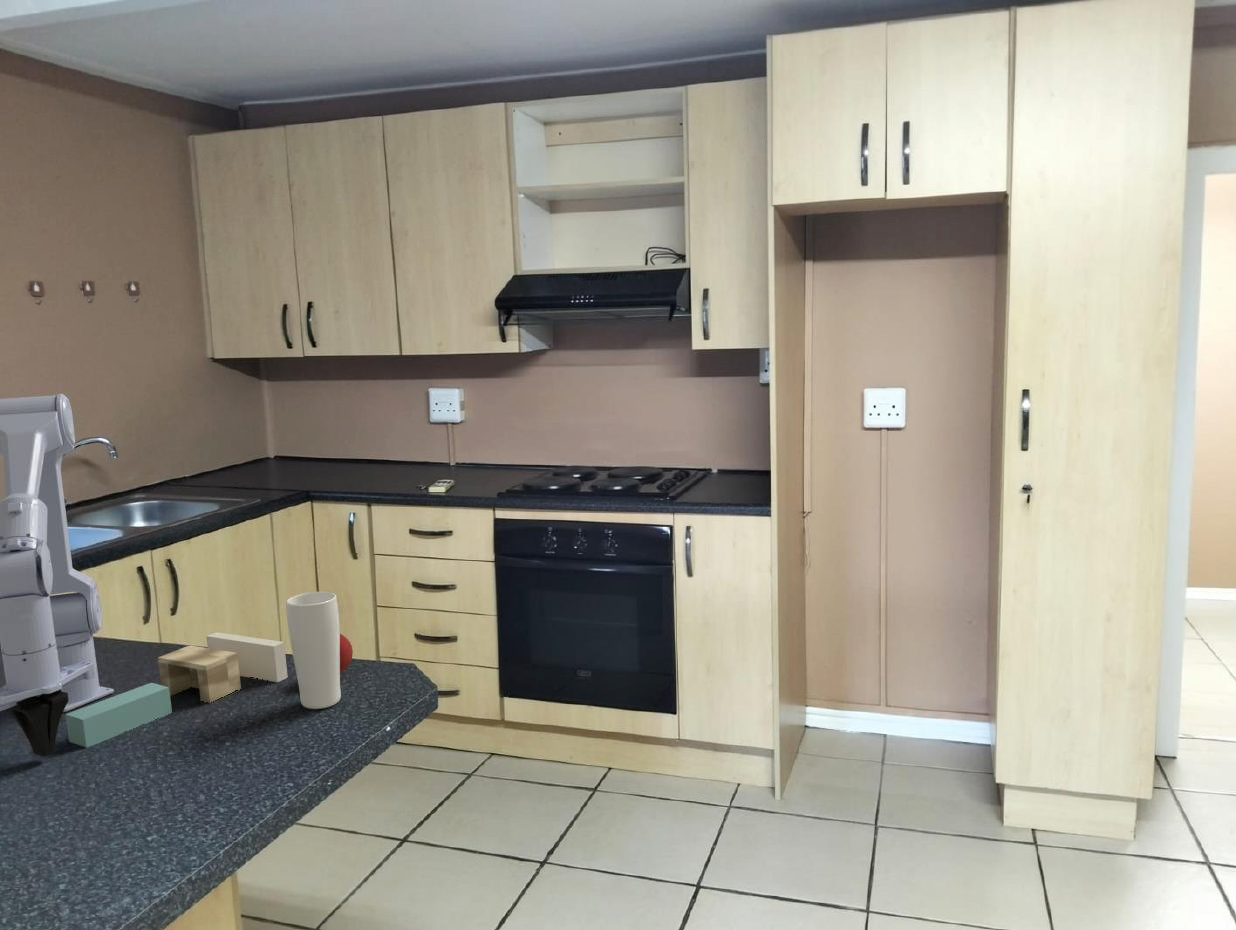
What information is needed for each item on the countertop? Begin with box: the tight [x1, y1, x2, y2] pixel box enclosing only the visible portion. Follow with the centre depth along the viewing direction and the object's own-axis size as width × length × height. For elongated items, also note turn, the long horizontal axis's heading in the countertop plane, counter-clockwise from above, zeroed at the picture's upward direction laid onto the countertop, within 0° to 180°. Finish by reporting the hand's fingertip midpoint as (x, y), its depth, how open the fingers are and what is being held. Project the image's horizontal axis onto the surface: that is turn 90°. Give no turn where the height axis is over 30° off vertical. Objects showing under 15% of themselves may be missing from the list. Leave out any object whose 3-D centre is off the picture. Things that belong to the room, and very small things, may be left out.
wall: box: [205, 631, 289, 683], centre depth 150 cm, size 14×2×6 cm, turn 63°
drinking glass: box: [285, 591, 342, 710], centre depth 136 cm, size 7×7×15 cm
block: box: [157, 645, 242, 704], centre depth 143 cm, size 10×6×6 cm, turn 63°
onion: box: [340, 633, 354, 675], centre depth 146 cm, size 6×6×8 cm
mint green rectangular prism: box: [65, 682, 173, 749], centre depth 132 cm, size 4×12×4 cm, turn 148°
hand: (44, 752), depth 123 cm, fingers closed
